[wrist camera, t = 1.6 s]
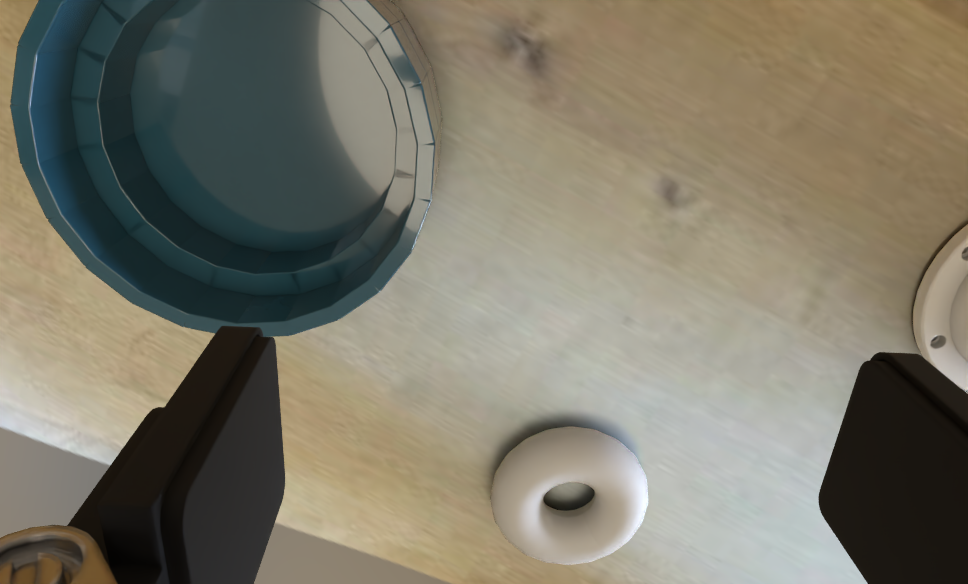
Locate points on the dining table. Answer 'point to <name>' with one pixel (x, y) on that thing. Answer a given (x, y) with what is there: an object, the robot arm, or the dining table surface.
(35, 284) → the dining table surface
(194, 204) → the bowl
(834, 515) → the robot arm
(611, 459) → the donut
